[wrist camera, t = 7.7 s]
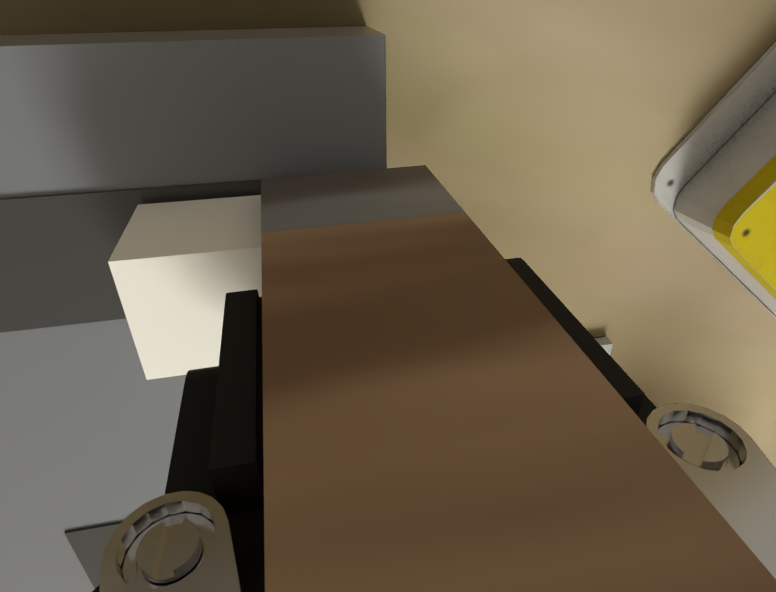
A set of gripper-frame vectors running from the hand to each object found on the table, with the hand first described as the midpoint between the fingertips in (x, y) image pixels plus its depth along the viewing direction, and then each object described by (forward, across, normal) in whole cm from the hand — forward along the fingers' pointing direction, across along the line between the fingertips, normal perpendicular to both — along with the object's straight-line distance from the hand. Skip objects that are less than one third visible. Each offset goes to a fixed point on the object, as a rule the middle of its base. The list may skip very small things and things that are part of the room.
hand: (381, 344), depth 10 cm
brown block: (+4, 0, 0) cm, 4 cm away
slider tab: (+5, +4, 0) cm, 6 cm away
